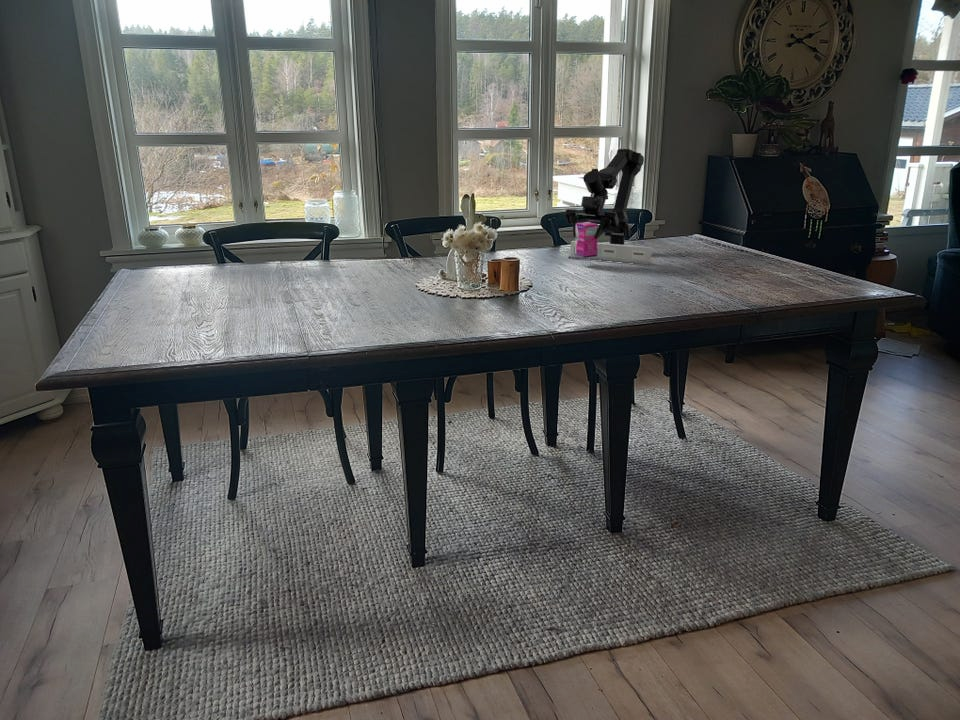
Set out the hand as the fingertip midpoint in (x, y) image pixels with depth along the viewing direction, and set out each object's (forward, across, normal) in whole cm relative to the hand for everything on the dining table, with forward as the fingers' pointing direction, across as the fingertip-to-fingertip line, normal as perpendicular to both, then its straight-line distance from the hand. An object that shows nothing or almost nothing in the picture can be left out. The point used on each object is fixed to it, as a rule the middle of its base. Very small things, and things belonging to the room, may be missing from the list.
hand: (584, 237), depth 252 cm
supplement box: (+4, 0, +6) cm, 7 cm away
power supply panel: (-3, +5, +17) cm, 18 cm away
